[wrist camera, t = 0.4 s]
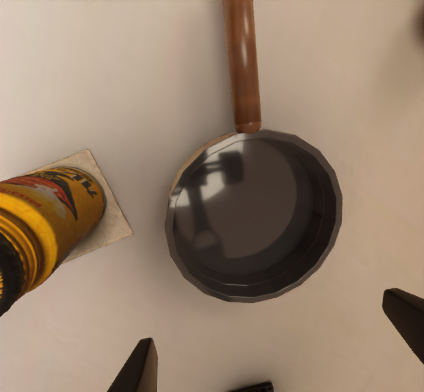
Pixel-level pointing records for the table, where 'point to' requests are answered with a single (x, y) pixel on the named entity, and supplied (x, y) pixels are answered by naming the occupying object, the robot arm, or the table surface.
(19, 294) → the condiment
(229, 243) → the pan
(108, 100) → the table surface
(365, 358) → the table surface
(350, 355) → the table surface
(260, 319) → the table surface
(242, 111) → the pan handle
